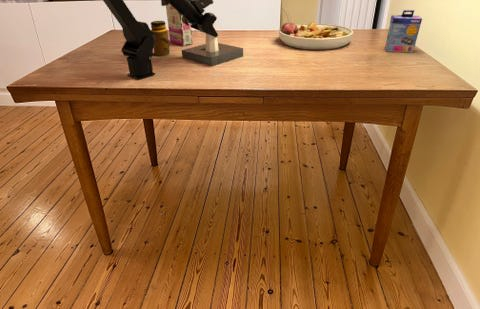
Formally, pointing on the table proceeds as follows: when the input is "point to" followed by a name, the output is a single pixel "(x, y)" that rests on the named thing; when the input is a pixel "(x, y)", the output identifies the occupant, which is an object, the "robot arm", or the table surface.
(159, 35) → the condiment
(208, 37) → the pepper shaker
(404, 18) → the ink cartridge box
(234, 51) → the holder block
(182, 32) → the candy bar box
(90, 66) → the table surface
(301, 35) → the bowl
